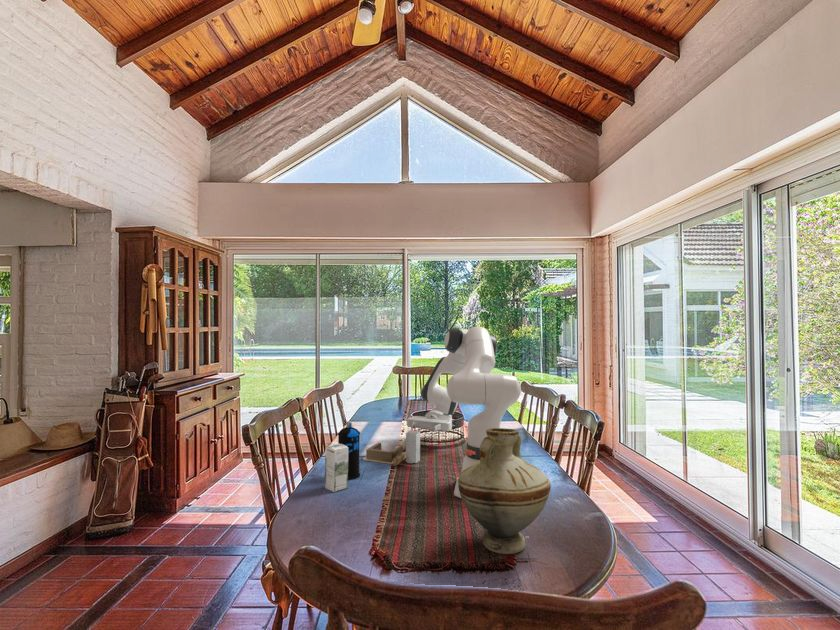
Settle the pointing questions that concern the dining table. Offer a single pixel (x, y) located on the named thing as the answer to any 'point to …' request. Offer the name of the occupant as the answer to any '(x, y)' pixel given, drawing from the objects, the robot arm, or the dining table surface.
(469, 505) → the amphora
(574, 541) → the dining table surface
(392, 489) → the dining table surface
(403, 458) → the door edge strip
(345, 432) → the aerosol can
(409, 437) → the bar
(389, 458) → the keeper
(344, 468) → the syrup box
